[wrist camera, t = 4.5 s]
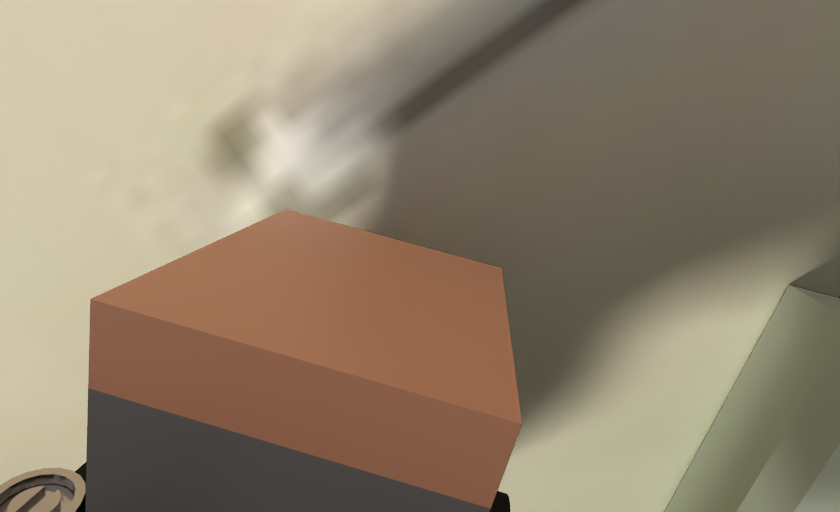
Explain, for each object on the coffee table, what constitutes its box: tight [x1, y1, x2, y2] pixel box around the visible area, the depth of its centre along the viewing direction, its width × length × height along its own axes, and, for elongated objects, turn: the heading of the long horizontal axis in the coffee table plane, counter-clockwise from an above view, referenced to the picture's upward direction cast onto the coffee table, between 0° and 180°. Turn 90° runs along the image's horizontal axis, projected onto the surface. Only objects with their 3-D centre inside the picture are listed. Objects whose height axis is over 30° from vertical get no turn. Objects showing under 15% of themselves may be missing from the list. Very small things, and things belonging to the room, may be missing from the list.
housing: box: [85, 210, 522, 512], centre depth 9 cm, size 10×5×6 cm, turn 166°
